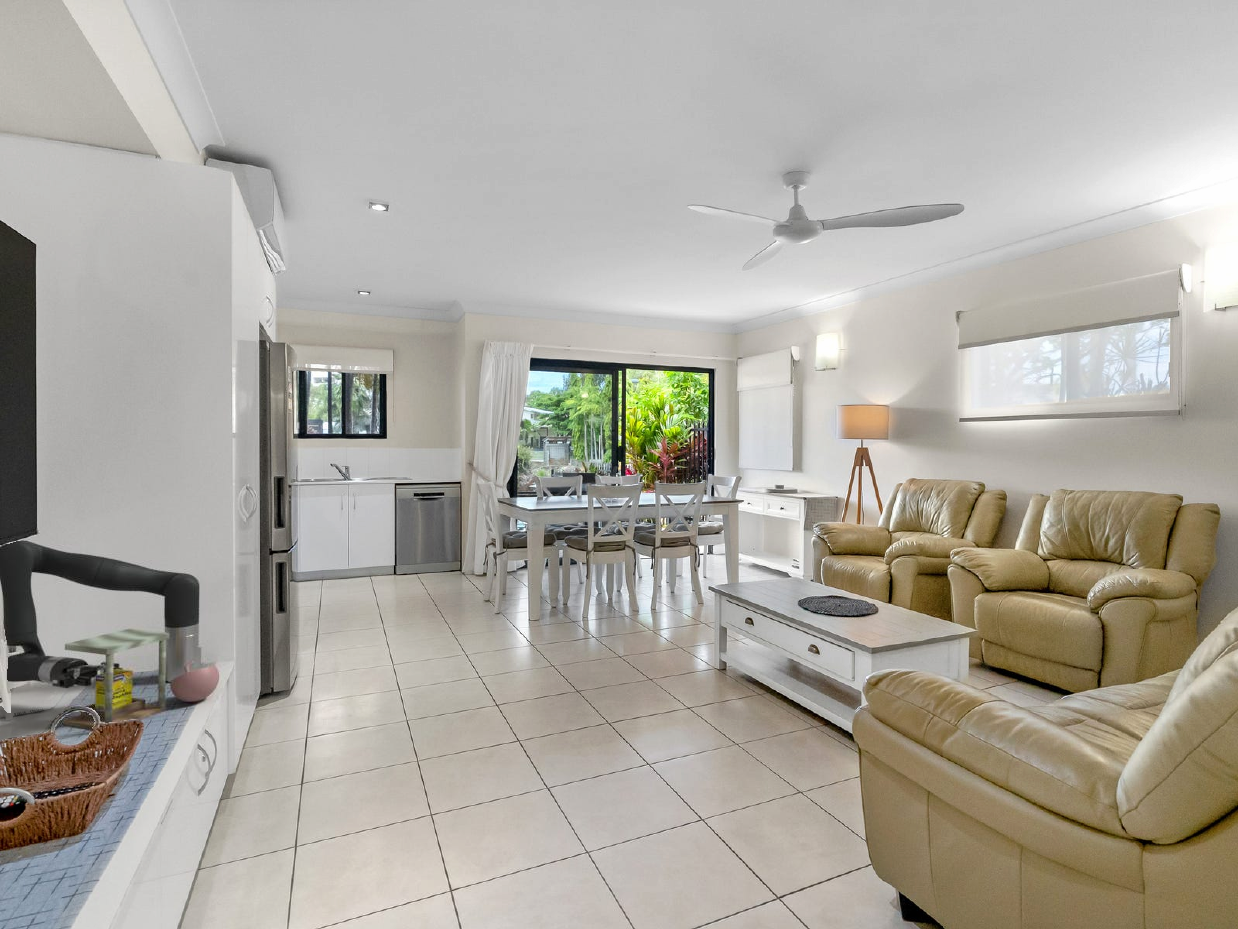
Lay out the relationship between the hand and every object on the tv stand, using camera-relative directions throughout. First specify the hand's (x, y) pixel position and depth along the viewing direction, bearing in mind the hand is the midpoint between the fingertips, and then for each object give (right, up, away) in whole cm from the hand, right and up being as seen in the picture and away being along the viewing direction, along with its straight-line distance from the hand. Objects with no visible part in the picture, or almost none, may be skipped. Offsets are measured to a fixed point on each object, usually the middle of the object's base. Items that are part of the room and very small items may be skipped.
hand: (106, 677), depth 179 cm
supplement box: (+3, -10, -1) cm, 10 cm away
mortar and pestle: (+17, -11, +12) cm, 23 cm away
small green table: (+3, -10, -1) cm, 11 cm away
